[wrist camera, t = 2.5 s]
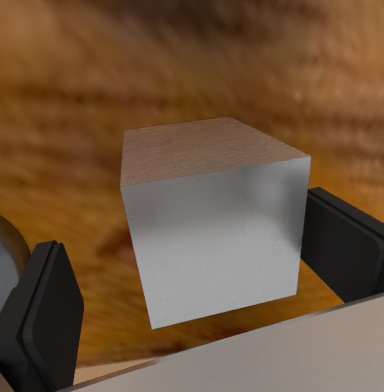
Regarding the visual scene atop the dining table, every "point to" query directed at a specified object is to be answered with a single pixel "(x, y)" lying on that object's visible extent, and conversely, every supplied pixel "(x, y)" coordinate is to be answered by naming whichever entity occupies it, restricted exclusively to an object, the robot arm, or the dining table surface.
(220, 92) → the dining table surface
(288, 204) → the brushed metal cube
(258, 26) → the dining table surface
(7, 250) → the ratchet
